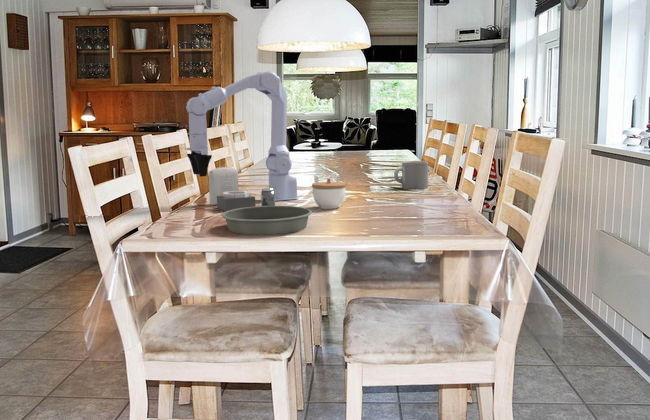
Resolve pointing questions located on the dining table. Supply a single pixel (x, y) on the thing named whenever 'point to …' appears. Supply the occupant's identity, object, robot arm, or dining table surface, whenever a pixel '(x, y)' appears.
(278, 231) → the cake pan
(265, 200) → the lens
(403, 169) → the coffee mug
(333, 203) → the lidded jar
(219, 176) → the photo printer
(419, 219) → the dining table surface
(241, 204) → the octagonal frame panel
